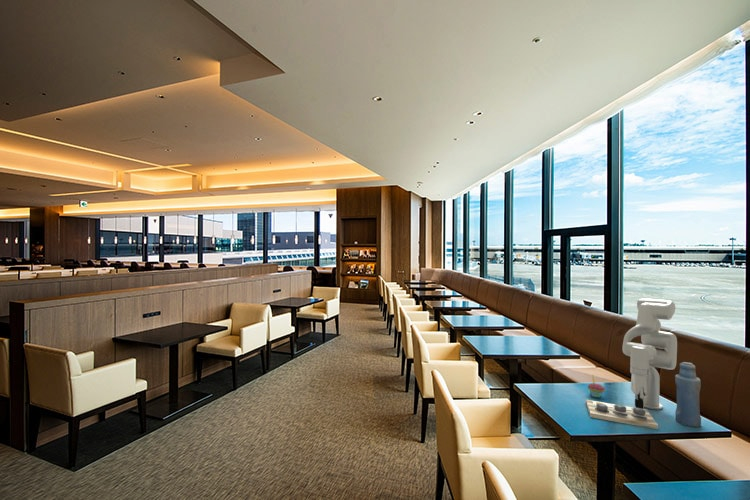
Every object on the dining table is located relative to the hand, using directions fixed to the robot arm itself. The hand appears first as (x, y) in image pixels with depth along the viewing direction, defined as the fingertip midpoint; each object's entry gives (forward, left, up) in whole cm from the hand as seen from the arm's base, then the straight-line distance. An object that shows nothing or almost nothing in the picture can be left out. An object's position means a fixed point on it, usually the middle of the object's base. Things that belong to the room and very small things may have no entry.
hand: (639, 407), depth 181 cm
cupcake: (-29, -15, -7) cm, 34 cm away
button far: (0, -16, -4) cm, 16 cm away
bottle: (-9, +22, -7) cm, 25 cm away
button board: (-3, -8, -7) cm, 11 cm away
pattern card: (-9, -8, -5) cm, 13 cm away
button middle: (0, -8, -3) cm, 9 cm away
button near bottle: (0, 0, -3) cm, 3 cm away
